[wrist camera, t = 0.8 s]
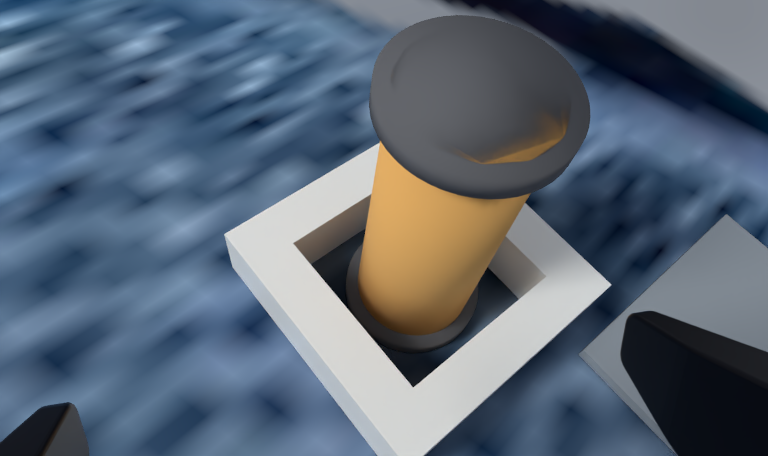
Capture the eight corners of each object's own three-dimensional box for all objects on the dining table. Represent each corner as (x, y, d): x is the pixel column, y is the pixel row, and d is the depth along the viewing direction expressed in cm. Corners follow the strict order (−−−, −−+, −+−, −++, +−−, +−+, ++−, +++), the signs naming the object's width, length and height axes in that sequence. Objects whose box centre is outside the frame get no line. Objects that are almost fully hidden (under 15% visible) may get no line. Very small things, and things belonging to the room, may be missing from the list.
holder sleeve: (583, 311, 27) (611, 284, 25) (397, 480, 23) (408, 469, 20) (420, 150, 31) (430, 113, 28) (232, 267, 26) (224, 234, 24)
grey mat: (933, 398, 27) (945, 395, 26) (813, 595, 22) (825, 596, 22) (719, 220, 31) (726, 214, 30) (578, 354, 26) (583, 349, 26)
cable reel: (500, 301, 27) (633, 112, 16) (404, 380, 25) (482, 223, 14) (415, 213, 29) (482, -10, 18) (319, 278, 27) (326, 67, 15)
